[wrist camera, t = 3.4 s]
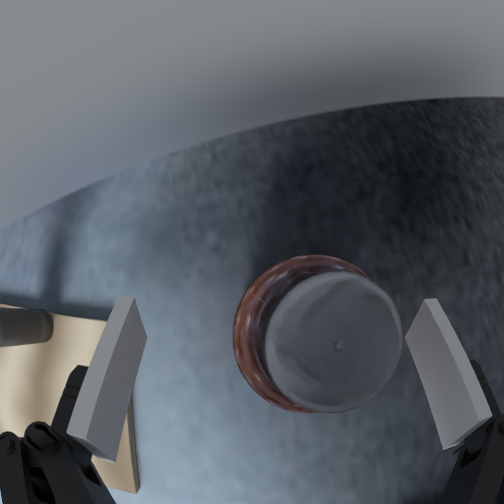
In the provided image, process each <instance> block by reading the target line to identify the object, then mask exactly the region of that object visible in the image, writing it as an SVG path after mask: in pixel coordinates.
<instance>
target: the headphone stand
mask: <svg viewBox="0 0 504 504" xmlns="http://www.w3.org/2000/svg"><path fill="white" fill-rule="evenodd" d="M106 323H107V321H105V320H98V319H90V318H83V317H76V316H69V315H63V314H57V313H51V312H46V311H45V310H42V309H28V308H23V307H18V306H13V305H8V304H3V303H0V434H2V433H3V432H6V431H10V432H13V433H14V434H16V435H17V436H18V437H24V433H25V430H26V428H27V427H28V425H30V424H31V423H33V422H36V421H42V422H45V423H47V424H48V425H49V426H51V423H52V421H53V418H54V415H55V412H56V409H57V406H58V403H59V401H60V398H61V396H62V392H63V390H64V387H66V382H67V379H68V377H69V374H70V373H71V372H72V371H73V370H74V368H75V367H76V366H77V365H83V366H88V367H89V365H90V362H91V360H92V357H93V355H94V352H95V350H96V347H97V345H98V342H99V340H100V337H101V335H102V333H103V330H104V328H105V325H106ZM91 461H92V462H93V464H94V466H95V468H96V469H97V471H98V473H99V475H100V477H101V479H102V480H103V482H104V484H105V486H107V487H111V488H114V489H118V490H122V491H126V492H130V493H134V494H137V492H138V490H139V489H140V483H139V476H138V468H137V460H136V451H135V440H134V429H133V414H132V396H131V398H130V402H129V406H128V410H127V414H126V418H125V422H124V427H123V431H122V435H121V440H120V444H119V449H118V454H117V458H116V463H113V462H109V461H105V460H102V459H98V458H97V457H96V456H94V455H92V459H91Z"/></svg>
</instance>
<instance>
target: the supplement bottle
mask: <svg viewBox="0 0 504 504" xmlns="http://www.w3.org/2000/svg"><path fill="white" fill-rule="evenodd" d="M402 345H403V333H402V326H401V319H400V316H399V313H398V311H397V308H396V306H395V304H394V303H393V301H392V299H391V297H390V296H389V295H388V294H387V293H386V292H385V291H384V290H383V289H382V288H381V287H380V286H379V285H377V284H376V283H375V282H373V281H372V280H371V279H370V278H369V277H368V276H367V275H366V274H365V273H364V272H362V271H361V270H360V269H359V268H357V267H356V266H354V265H352V264H350V263H349V262H347V261H343V260H341V259H339V258H336V257H331V256H326V255H303V256H297V257H293V258H290V259H287V260H285V261H282V262H280V263H278V264H276V265H274V266H272V267H271V268H269V269H268V270H266V271H265V272H264V273H262V274H261V275H260V276H259V277H258V278H257V279H256V280H255V281H254V282H253V283H252V284H251V285H250V286H249V288H248V289H247V291H246V292H245V294H244V295H243V297H242V299H241V301H240V303H239V305H238V307H237V311H236V314H235V317H234V323H233V348H234V354H235V358H236V361H237V364H238V367H239V369H240V371H241V373H242V375H243V377H244V378H245V380H246V381H247V383H248V384H249V385H250V386H251V388H252V389H253V390H254V391H255V392H256V393H257V394H258V395H260V396H261V397H262V398H263V399H265V400H266V401H268V402H269V403H271V404H273V405H275V406H277V407H279V408H282V409H285V410H288V411H292V412H299V413H336V412H343V411H348V410H351V409H354V408H357V407H359V406H361V405H363V404H364V403H366V402H367V401H369V400H370V399H372V398H373V397H375V396H376V395H377V394H378V393H379V392H380V391H381V390H382V389H383V388H384V387H385V386H386V384H387V383H388V382H389V380H390V379H391V377H392V376H393V373H394V371H395V370H396V368H397V365H398V362H399V359H400V356H401V351H402Z"/></svg>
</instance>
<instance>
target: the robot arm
mask: <svg viewBox="0 0 504 504" xmlns="http://www.w3.org/2000/svg"><path fill="white" fill-rule="evenodd" d="M405 339H406V342H407V344H408V347H409V349H410V352H411V354H412V357H413V360H414V362H415V365H416V368H417V370H418V373H419V376H420V378H421V381H422V384H423V387H424V390H425V393H426V396H427V399H428V401H429V404H430V408H431V411H432V414H433V417H434V420H435V423H436V427H437V430H438V433H439V437H440V440H441V444H442V447H443V450H444V449H447V448H450V447H453V446H455V445H457V444H459V443H460V442H461V441H463V440H464V441H465V444H464V445H462V446H461V447H460V448H458V449H457V450H456V451H454V453H453V455H456V454H457V453H459V452H460V454H459V455H458V456H457V457H458V459H457V462H456V464H455V467H454V469H453V472H452V474H451V477H450V479H449V481H448V484H447V486H446V488H445V490H444V492H443V494H442V497H441V499H440V501H439V503H438V504H504V415H502V414H501V412H500V410H499V408H498V405H497V403H496V400H495V398H494V396H493V393H492V391H491V389H490V386H488V382H487V380H486V379H485V375H484V373H483V371H482V369H481V367H480V366H479V365H478V363H477V362H476V361H475V360H474V359H473V360H469V359H468V357H467V355H466V353H465V351H464V349H463V347H462V345H461V343H460V341H459V339H458V337H457V335H456V333H455V331H454V329H453V328H452V326H451V324H450V322H449V320H448V318H447V316H446V315H445V313H444V311H443V309H442V307H441V306H440V304H439V302H438V300H437V299H436V298H435V299H424V300H423V303H422V305H421V307H420V309H419V311H418V313H417V315H416V317H415V319H414V321H413V323H412V325H411V327H410V329H409V331H408V332H407V334H406V336H405ZM146 340H147V336H146V333H145V330H144V327H143V324H142V321H141V318H140V314H139V311H138V308H137V305H136V302H135V298H134V297H126V296H118V298H117V301H116V303H115V305H114V307H113V309H112V312H111V314H110V316H109V319H108V321H107V323H106V325H105V328H104V330H103V333H102V335H101V337H100V340H99V342H98V345H97V347H96V350H95V352H94V355H93V357H92V360H91V362H90V365H89V367H88V366H83V365H77V366H76V367H75V368H74V370H73V371H72V372H71V373H70V374H69V377H68V379H67V382H66V387H64V390H63V392H62V396H61V398H60V401H59V403H58V406H57V409H56V412H55V415H54V418H53V421H52V423H51V426H49V425H48V424H47V423H45V422H42V421H36V422H33V423H31V424H30V425H28V427H27V428H26V430H25V433H24V437H18V436H17V435H16V434H14V433H13V432H10V431H6V432H3V433H2V434H0V491H1V497H2V503H3V504H116V502H115V501H114V499H113V498H112V496H111V494H110V493H109V491H108V489H107V487H106V486H105V484H104V482H103V480H102V479H101V477H100V475H99V473H98V471H97V469H96V468H95V466H94V464H93V462H92V461H91V459H92V455H94V456H96V457H97V458H98V459H102V460H105V461H109V462H113V463H116V458H117V454H118V449H119V444H120V440H121V435H122V431H123V427H124V422H125V418H126V414H127V410H128V406H129V402H130V398H131V394H132V390H133V387H134V383H135V379H136V375H137V372H138V368H139V365H140V361H141V358H142V354H143V351H144V347H145V344H146Z"/></svg>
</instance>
